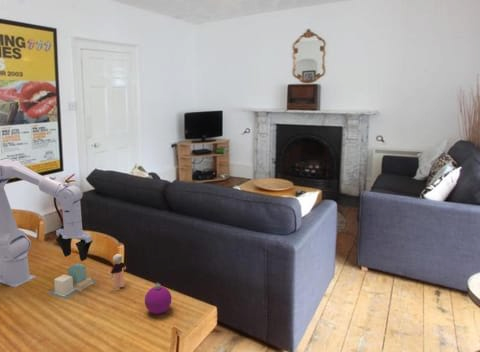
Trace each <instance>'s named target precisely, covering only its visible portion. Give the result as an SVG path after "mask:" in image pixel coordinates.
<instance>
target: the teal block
mask: <svg viewBox="0 0 480 352" xmlns="http://www.w3.org/2000/svg"><path fill="white" fill-rule="evenodd" d="M67 272H68V274H67V275H68V276H72V278H73V282H74V283H79V282H81V281H83V280H85V279H86V277H87V269H86V265H85V264H81V263H75V264H73V265H71V266H69V267H67Z"/></svg>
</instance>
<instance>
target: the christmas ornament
mask: <svg viewBox="0 0 480 352" xmlns="http://www.w3.org/2000/svg"><path fill="white" fill-rule="evenodd" d="M144 304H145V308H146V309H147V310H148V311H149V313H150V312H151V314H152V313H153V314H156V315H158V314H162V313H164V312H166V311H167V310H168V309H169V308H170V306H171V304H172V294H171V292H170V290H169V289H167V288H166V287H164V286H161V284H160V283H159V282H156V283H155V285H154V286H153V287H151V288H150V289H149V290H148V291H147V293H146V294H145V297H144Z"/></svg>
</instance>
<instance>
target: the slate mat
mask: <svg viewBox="0 0 480 352" xmlns="http://www.w3.org/2000/svg"><path fill="white" fill-rule="evenodd" d="M86 278H90V279H91V280H92V283H91V284H89V285H88V286H86V287H84V288H83V289H81V290H80V289H77V288H74V287H73V289H74V290H73V291H71V292H69V293H68V294H66V295H64V296H63V295H60V294H57V293H55V288H53V289H52V290H50V291H47V294H49V295H51V296H53V297H57V298H59V299H63V300H68V299H70V298H71V297H73V296H75V295H76V294H78V293H79V292H81V291H83V290H84V289H86V288H88V287H89V286H91V285H94V283H96V282H98V281H99V280H98V279H95V278H91V277H87V276H86Z"/></svg>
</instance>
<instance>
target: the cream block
mask: <svg viewBox="0 0 480 352" xmlns="http://www.w3.org/2000/svg"><path fill="white" fill-rule="evenodd" d="M53 282H54V283H53V284H54V289H55V293H57V294H60V295H63V296H64V295H66V294H68V293H69V292H71V291H73V290H74V289H73V278H72V276H69V275H68V274H65V273H64V274H61V275H60V276H58V277H56V278H54V279H53Z"/></svg>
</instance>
